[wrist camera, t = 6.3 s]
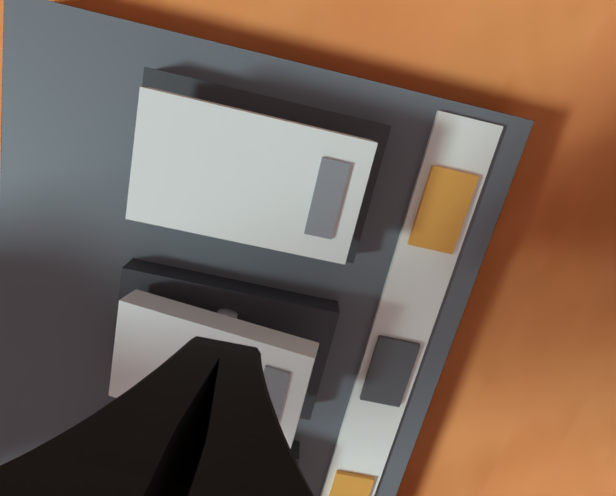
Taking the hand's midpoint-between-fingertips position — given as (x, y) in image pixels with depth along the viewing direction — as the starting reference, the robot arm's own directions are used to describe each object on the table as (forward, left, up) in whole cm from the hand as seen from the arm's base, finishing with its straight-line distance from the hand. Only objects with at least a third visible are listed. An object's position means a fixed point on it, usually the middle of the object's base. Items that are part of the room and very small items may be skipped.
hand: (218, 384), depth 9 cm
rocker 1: (-1, +3, -6) cm, 7 cm away
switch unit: (-1, -3, -10) cm, 10 cm away
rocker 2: (-1, -3, -6) cm, 7 cm away
